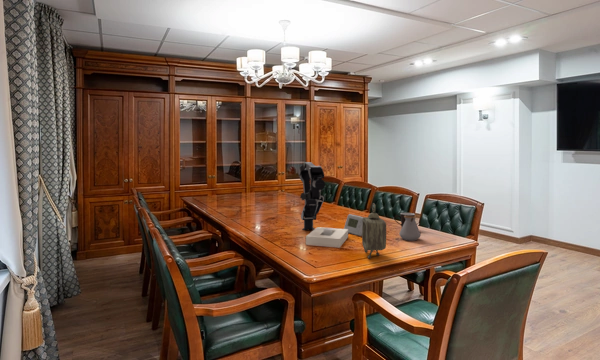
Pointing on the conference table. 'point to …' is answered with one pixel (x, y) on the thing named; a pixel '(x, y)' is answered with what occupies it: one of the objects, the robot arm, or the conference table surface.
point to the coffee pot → (410, 229)
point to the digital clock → (354, 224)
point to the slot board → (327, 237)
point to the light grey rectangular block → (327, 232)
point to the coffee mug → (403, 217)
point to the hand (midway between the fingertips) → (315, 214)
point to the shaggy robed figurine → (373, 233)
